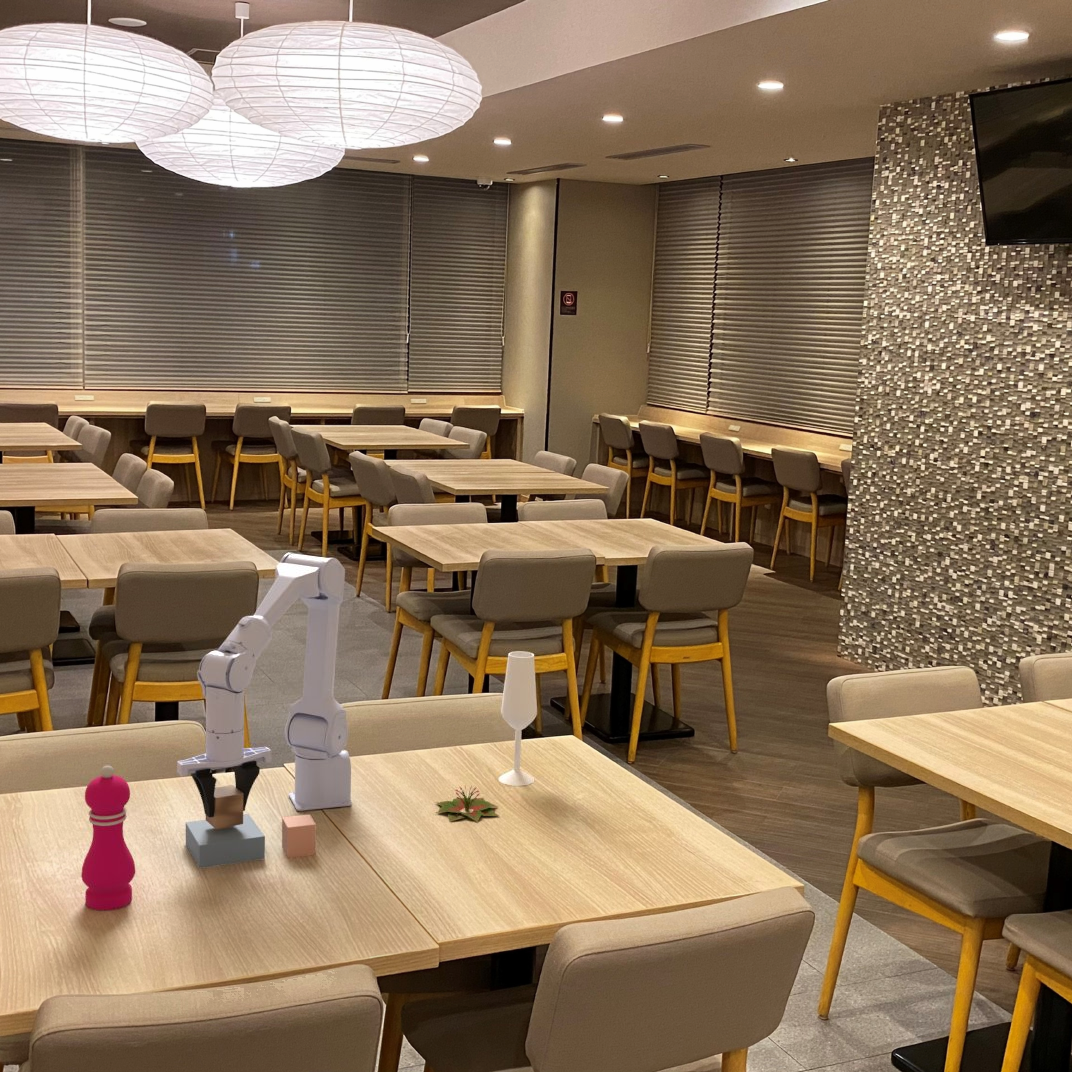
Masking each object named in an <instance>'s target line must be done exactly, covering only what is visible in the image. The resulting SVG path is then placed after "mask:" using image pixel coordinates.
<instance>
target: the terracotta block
mask: <svg viewBox="0 0 1072 1072" xmlns="http://www.w3.org/2000/svg"><path fill="white" fill-rule="evenodd" d="M281 819H282V820H281V821H282V822H281V848H282V850H283V852H284V854H285V855H286V858H287V859H288V858H297V857H306V856H312V855H313V856H314V855H316V842H317V841H316V840H317V839H316V838H317V837H316V832H317V830H316V829H317V826H316V825H317V824H316V822H315V821H314V819H313V818H312V816H311V814H302V815H301V814H300V815H293V816H291V815H290V816H284V817H281Z"/></svg>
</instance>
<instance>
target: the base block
mask: <svg viewBox="0 0 1072 1072" xmlns="http://www.w3.org/2000/svg"><path fill="white" fill-rule="evenodd" d="M265 837H266V836H265V834H264V832H262V829H260V828H259V826H258V825H257V824H256V822H255V821H254V820H253V818H252V817H251V815H250V814H249V813H246V814H244V813H243V824H241V825H236V826H230V827H225V828H220V829H215V828H214V827H213V826H212V825H211V824H209V823H208V822H207V821H206V819H200V820H194V821H193V820H192V821H186V822H185V846H186V847H187V850H188V851H189V853H190V855H191V856H192V858H193V859H194V862H195V863H196V866H197V867H198V868H199V869H200V870H201V869H207V868H212V867H218V866H226V865H232V864H233V865H234V864H239V863H244V862H251V861H258V860H259V861H260V860H265V859H266V847H265V846H266V843H265V842H266V838H265Z"/></svg>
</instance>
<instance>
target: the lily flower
mask: <svg viewBox="0 0 1072 1072" xmlns="http://www.w3.org/2000/svg"><path fill="white" fill-rule="evenodd" d="M464 788H465V790H467V788H466V786H464ZM459 789H460V790H461V791H459V790H458V789H455V791H456V792H455V794H456V795H457V796H456V798H453V799H452V800H445V801H440V802H438V801H437V802H436V801H435V802H434V803H435V804H437V805H439V806H440V808H439V809H438V811H436V812H435V814H441V813H446V812H448V814H447V815H448V819H449V822H453V821H457V820H460V819H466V818H469V819H472V820H473V821H475V822H477V823H479V819H480V818H481V817H487V816H488V817H499V815H498V814H497V813H496V812H495V810H492V809H489V808H495V807H496V808H498V807H499V806H498V805H495V804H493V803H491V802H489V801H486V799H484V797H478V796H480V794H481V793H480V790H476V789H477V787H474V788H473V790H472V791H471V789H472V785H470V789H469V793H468V797H467V795H466V792H465V791H464V790H463V788H462V787H461V786H459ZM474 791H475V792H474ZM459 793H460V795H459ZM476 793H477V794H476ZM475 794H476V796H475V797H473V798H472V796H474V795H475ZM461 796H462V797H461ZM462 810H465V812H464V811H462ZM470 810H472V811H471V812H469V813H468V811H470ZM466 811H467V812H466ZM458 814H461V816H458Z"/></svg>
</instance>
